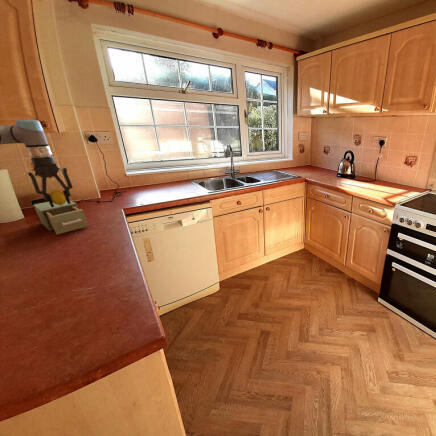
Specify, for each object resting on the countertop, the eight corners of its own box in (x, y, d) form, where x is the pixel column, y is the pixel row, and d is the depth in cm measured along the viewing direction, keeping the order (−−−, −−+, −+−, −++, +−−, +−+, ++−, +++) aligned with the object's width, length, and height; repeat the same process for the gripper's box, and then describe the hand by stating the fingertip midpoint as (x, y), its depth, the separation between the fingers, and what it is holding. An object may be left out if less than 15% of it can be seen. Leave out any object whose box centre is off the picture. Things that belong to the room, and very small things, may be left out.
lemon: (59, 207, 116) (53, 191, 113) (50, 207, 117) (43, 190, 114) (71, 203, 121) (65, 188, 118) (62, 203, 122) (56, 187, 119)
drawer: (92, 228, 121) (86, 211, 118) (59, 237, 112) (52, 219, 109) (78, 219, 133) (72, 204, 130) (48, 226, 124) (41, 210, 121)
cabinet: (82, 222, 132) (76, 203, 128) (49, 230, 121) (40, 210, 118) (73, 215, 141) (66, 198, 137) (41, 223, 131) (33, 204, 127)
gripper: (13, 159, 101) (36, 211, 110) (70, 154, 115) (86, 201, 123) (10, 158, 105) (33, 208, 114) (65, 153, 119) (82, 198, 128)
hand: (61, 204), depth 119 cm, fingers closed on lemon, 5 cm apart
